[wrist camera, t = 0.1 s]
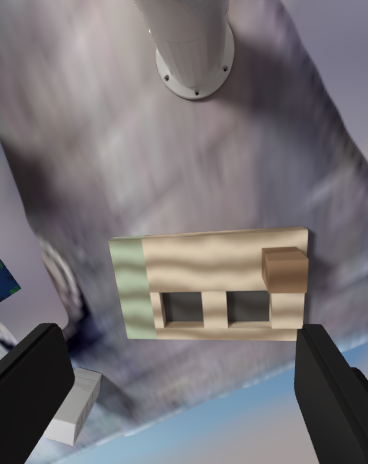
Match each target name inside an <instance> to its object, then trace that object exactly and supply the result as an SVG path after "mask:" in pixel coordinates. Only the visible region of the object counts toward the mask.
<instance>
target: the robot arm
mask: <svg viewBox="0 0 368 464" xmlns="http://www.w3.org/2000/svg"><path fill="white" fill-rule="evenodd" d="M134 2H135V4H136V6H137V8H138V10H139V12H140V14H141V16H142V18H143V20H144V22H145V24H146V26H147V28H148V30H149V32H150V34H151V36H152V39H153V41H154V43H155V45H156V64H157V69H158V72H159V74H160V77H161V79H162V80H163V82H164V84H165V85H166V86H167V88H168V89H169V90H170V91H172V92H173V93H174V94H176V95H177V96H179V97H182V98H184V99H190V100H196V99H202V98H205V97H207V96H209V95H211V94H213V93H214V92H215V91H217V90H218V89H219V88H220V87H221V86H222V84H223V83H224V82H225V80H226V79H227V77H228V75H229V73H230V70H231V68H232V64H233V59H234V39H233V34H232V31H231V29H230V26H229V24H228V23H227V20H228V10H229V0H134ZM224 69H226V70H227V71H226V72H224ZM168 78H169V81H167V79H168ZM196 93H199V95H196ZM74 383H75V375H74V371H73V368H72V364H71V361H70V357H69V354H68V351H67V347H66V344H65V340H64V337H63V333H62V330H61V328H60V327H58V325H57V324H56V323H42V324H39V325H38V326H37V327H36V328H35V329H34V330H33V331H32V332H31V333H29V334H28V335H27V336H26V337H25V338H24V339H23V340H22V341H21V342H20V343H18V344H17V345H16V346H15V347H14V348H13V349H12V350H11V351H10V352H9V353H8V354H6V355H5V356H4V357H3V358H2V359H1V360H0V464H24V463H25V462H26V460H27V459H28V457H29V455H30V454H31V452H32V451H33V449H34V447H35V446H36V444H37V443H38V441H39V440H40V438H41V436H42V435H43V433H44V432H45V430H46V429H47V427H48V425H49V424H50V422H51V421H52V419H53V417H54V416H55V414H56V413H57V411H58V410H59V408H60V406H61V405H62V403H63V402H64V400H65V398H66V397H67V395H68V394H69V392H70V391H71V389H72V387H73V385H74ZM294 390H295V395H296V398H297V401H298V404H299V407H300V410H301V412H302V415H303V418H304V421H305V424H306V427H307V430H308V432H309V435H310V438H311V441H312V444H313V446H314V449H315V452H316V455H317V458H318V461H319V464H368V380H367V379H366V378H365V376H364V375H363V373H362V372H361V371H360V370H359V369H357V368H354V367H350V366H349V364H348V363H347V362H346V360H345V358H344V357H343V356H342V354H341V353H340V351H339V350H338V348H337V347H336V345H335V344H334V342H333V341H332V339H331V338H330V336H329V335H328V333H327V332H326V330H325V329H324V327H323V326H322V325H320V324H303V326H302V329H297V339H296V359H295V378H294Z"/></svg>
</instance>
